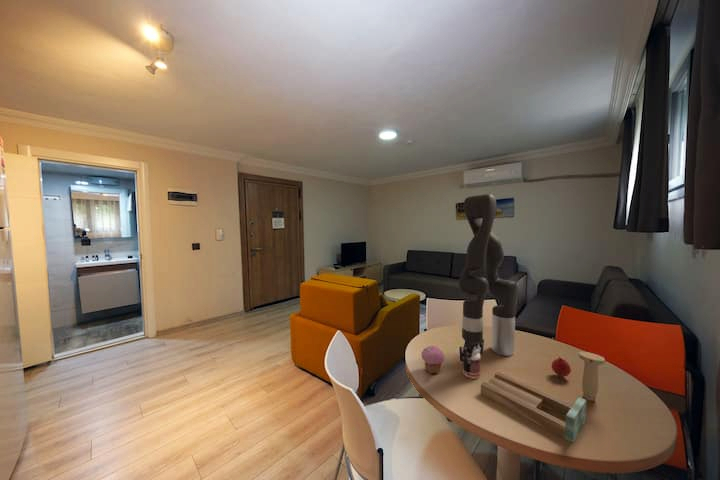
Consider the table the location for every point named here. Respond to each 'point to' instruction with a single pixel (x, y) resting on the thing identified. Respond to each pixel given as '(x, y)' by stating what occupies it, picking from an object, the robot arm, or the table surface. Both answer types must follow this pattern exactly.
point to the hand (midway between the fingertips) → (471, 368)
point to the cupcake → (432, 358)
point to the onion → (561, 367)
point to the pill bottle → (473, 365)
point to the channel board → (536, 405)
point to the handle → (590, 374)
